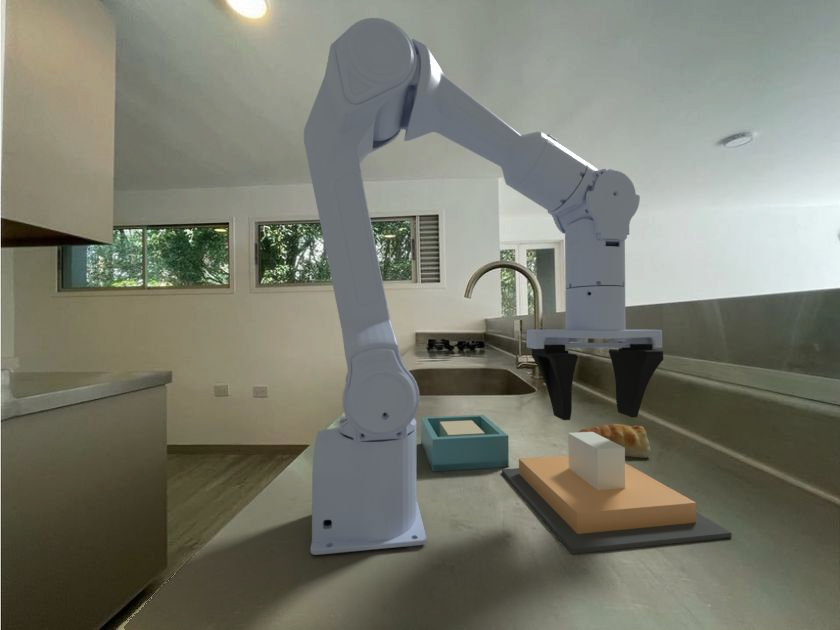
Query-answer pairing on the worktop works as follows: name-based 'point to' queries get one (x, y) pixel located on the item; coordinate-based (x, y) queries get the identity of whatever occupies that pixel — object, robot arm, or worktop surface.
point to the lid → (603, 488)
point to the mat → (615, 538)
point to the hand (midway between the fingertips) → (595, 416)
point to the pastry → (625, 438)
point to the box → (463, 443)
